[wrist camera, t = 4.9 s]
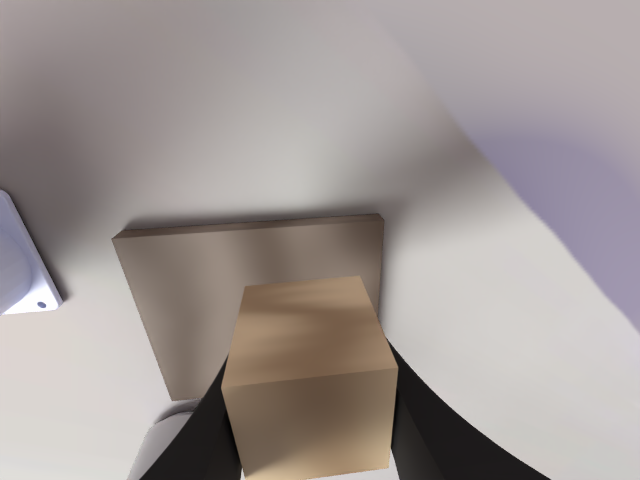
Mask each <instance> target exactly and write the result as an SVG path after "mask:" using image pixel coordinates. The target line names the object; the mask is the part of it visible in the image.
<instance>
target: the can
mask: <svg viewBox="0 0 640 480" xmlns="http://www.w3.org/2000/svg"><path fill="white" fill-rule="evenodd" d="M192 413H193V411H189V412H181V413H177V414H175V415H172V416H169V417H168V418H167V419H165V420H162V421H159V422H158V423H157V424H155V425H154V426H152V427H151V428H150V429H149V431H148V432H147V434H146V435H145V437H144V440H143V442H142V444H141V447H140V449H139V451H138V454H137V456H136V459H135V461H134V463H133V466H132V468H131V470H130V473H129V475H128V478H127V480H139V479H140V478H141V477H142V476H143V475H144V473H145V472H146V471H147V470H148V469H149V468H150V467H151V466H152V464H153V463H154V462H155V461H156V460H157V458H158V457H159V456H160V455H161V454H162V452H163V451H164V450H165V449H166V448H167V446H168V445H169V444H170V443H171V441H172V440H173V439H174V438H175V436H176V435H177V434H178V432H179V431H180V430H181V428H182V427H183V426H184V424H185V423H186V422H187V420H188V419H189V417H190V416H191V415H192Z"/></svg>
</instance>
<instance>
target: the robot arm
mask: <svg viewBox="0 0 640 480" xmlns="http://www.w3.org/2000/svg"><path fill="white" fill-rule="evenodd" d="M43 302H44V303H45V304H44V303H43ZM62 303H63V302H62V299H61V297H60V295H59V293H58V291H57V289H56V287H55V285H54V283H53V281H52V279H51V277H50V275H49V273H48V271H47V269H46V267H45V265H44V263H43V261H42V259H41V257H40V255H39V253H38V251H37V249H36V247H35V245H34V243H33V241H32V239H31V237H30V235H29V233H28V232H27V230H26V228H25V226H24V224H23V222H22V220H21V218H20V216H19V214H18V212H17V210H16V208H15V206H14V204H13V202H12V200H11V198H10V196H9V195H8V194H7V193H6V192H5V191H3V190H1V189H0V315H2V314H12V313H23V312H35V311H47V310H56V309H58V308H59V307H60V306H61V305H62ZM386 339H387V338H386ZM387 342H388V344H389V347H390V349H391V351H392V354H393V356H394V358H395V361H396V363H397V366H398V376H397V386H396V396H395V406H394V417H393V427H392V437H391V450H392V453H393V457H394V460H395V463H396V467H397V471H398V475H399V479H400V480H551V479H549V478H548V477H546V476H544V475H543V474H541V473H540V472H538V471H536V470H535V469H533V468H532V467H530V466H528V465H527V464H525V463H524V462H522V461H520V460H519V459H517V458H516V457H514V456H513V455H511V454H510V453H508V452H507V451H506V450H504V449H503V448H501V447H500V446H498V445H497V444H496V443H494V442H493V441H492V440H490V439H489V438H488V437H486V436H485V435H484V434H482V433H481V432H480V431H479V430H477V429H476V428H475V427H473V426H472V425H471V424H469V423H468V422H467V421H466V420H465V419H463V418H462V417H461V416H460V415H459V414H457V413H456V412H455V411H454V410H453V409H452V408H451V407H449V406H448V405H447V404H446V403H445V402H444V401H443V400H442V399H441V398H440V397H439V396H438V395H436V394H435V393H434V392H433V391H432V390H431V389H430V388H429V387H428V386H427V385H426V384H425V383H424V381H423V380H422V379H421V378H420V377H419V376H418V375H417V374H416V373H415V372H414V371H413V370H412V368H411V367H410V366H409V365H408V364H407V363H406V362H405V361H404V359H403V358H402V357H401V356H400V355H399V353H398V352H397V351H396V350H395V348H394V347H393V346H392V345H391V343H390V342H389V341H388V339H387ZM228 356H229V354H228ZM228 356H227V358H226V360H225V361H224V363H223V365H222V367H221V369H220V370H219V372H218V374H217V376H216V377H215V379H214V381H213V382H212V384H211V386H210V387H209V389H208V390H207V392H206V394H205V395H204V397H203V398H202V400H201V401H200V403H199V404H198V406H197V407H196V409H195V410H194V412H193V413H192V415H191V416H190V417H189V419H188V420H187V422H186V423H185V424H184V426H183V427H182V428H181V430H180V431H179V432H178V434H177V435H176V436H175V438H174V439H173V440H172V441H171V443H170V444H169V445H168V446H167V448H166V449H165V450H164V451H163V452H162V454H161V455H160V456H159V457H158V458H157V460H156V461H155V462H154V463H153V464H152V466H151V467H150V468H149V469H148V470H147V471H146V472H145V473H144V475H143V476H142V477H141V478H140V479H139V480H240V479H241V471H242V464H241V461H240V457H239V453H238V450H237V446H236V442H235V438H234V435H233V431H232V427H231V423H230V420H229V416H228V412H227V408H226V405H225V401H224V397H223V393H222V390H221V385H222V381H223V377H224V373H225V369H226V364H227V360H228Z"/></svg>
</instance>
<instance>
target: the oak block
mask: <svg viewBox="0 0 640 480" xmlns="http://www.w3.org/2000/svg"><path fill="white" fill-rule="evenodd" d="M397 376H398V366H397V363H396V361H395V358H394V356H393V354H392V351H391V349H390V347H389V344H388V342H387V339H386V337H385V335H384V332H383V330H382V327H381V325H380V323H379V320H378V318H377V315H376V313H375V311H374V308H373V306H372V303H371V301H370V299H369V296H368V294H367V292H366V289H365V287H364V284H363V282H362V280H361V277H360V276H351V277H340V278H329V279H318V280H306V281H295V282H284V283H273V284H262V285H251V286H245V288H244V292H243V297H242V301H241V305H240V309H239V313H238V318H237V322H236V326H235V330H234V335H233V339H232V343H231V347H230V352H229V356H228V360H227V364H226V369H225V373H224V377H223V381H222V385H221V390H222V393H223V397H224V401H225V405H226V408H227V412H228V416H229V420H230V423H231V427H232V431H233V435H234V438H235V442H236V446H237V450H238V453H239V457H240V461H241V464H242V468H243V472H244V476H245V479H246V480H305V479H313V478H320V477H327V476H334V475H341V474H349V473H356V472H363V471H370V470H378V469H385V468H389V458H390V448H391V437H392V427H393V417H394V406H395V396H396V386H397Z"/></svg>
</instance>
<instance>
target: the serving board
mask: <svg viewBox="0 0 640 480" xmlns="http://www.w3.org/2000/svg"><path fill="white" fill-rule="evenodd" d="M383 231H384V220H383V218H382V217H381V216H380V215H379V214H367V215H352V216H337V217H321V218H306V219H291V220H275V221H260V222H245V223H230V224H214V225H199V226H184V227H168V228H153V229H138V230H123V231H121V232H119V233H118V234H117V235H116V236H114V237H113V238H112V242H113V244H114V247H115V250H116V253H117V255H118V258H119V261H120V263H121V266H122V269H123V271H124V274H125V277H126V279H127V282H128V285H129V287H130V290H131V293H132V295H133V298H134V301H135V303H136V306H137V309H138V312H139V314H140V317H141V320H142V322H143V325H144V328H145V330H146V333H147V336H148V338H149V341H150V344H151V346H152V349H153V352H154V354H155V357H156V360H157V362H158V365H159V368H160V371H161V373H162V376H163V379H164V381H165V384H166V387H167V389H168V392H169V395H170V397H171V400H172V401H178V400H187V399H196V398H203V397H204V395H205V394H206V392H207V390H208V389H209V387H210V386H211V384H212V382H213V381H214V379H215V377H216V376H217V374H218V372H219V370H220V369H221V367H222V365H223V363H224V361H225V360H226V358H227V356H228V354H229V352H230V347H231V343H232V339H233V335H234V330H235V326H236V322H237V318H238V313H239V309H240V305H241V301H242V297H243V292H244V288H245V286H251V285H262V284H273V283H284V282H295V281H306V280H318V279H329V278H340V277H351V276H360V277H361V280H362V282H363V284H364V287H365V289H366V292H367V294H368V296H369V299H370V301H371V303H372V306H373V308H374V311H375V313H376V315H377V318H378V304H379V289H380V275H381V260H382V246H383Z"/></svg>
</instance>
